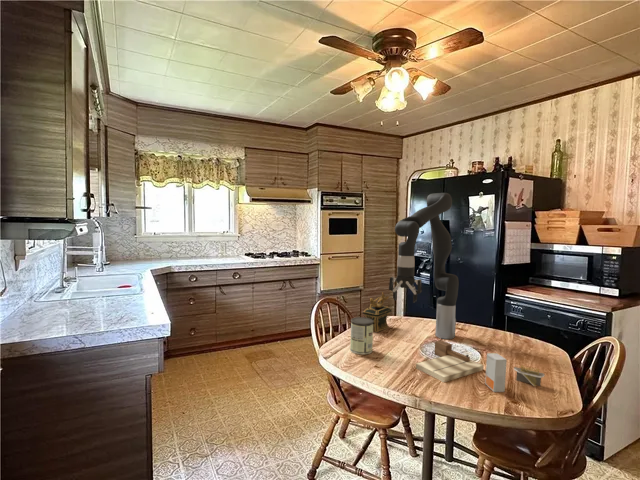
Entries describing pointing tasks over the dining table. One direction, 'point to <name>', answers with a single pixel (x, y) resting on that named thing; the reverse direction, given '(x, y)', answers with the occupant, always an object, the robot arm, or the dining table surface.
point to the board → (448, 367)
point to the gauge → (448, 351)
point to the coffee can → (361, 335)
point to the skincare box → (495, 372)
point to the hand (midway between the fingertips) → (404, 301)
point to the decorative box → (378, 313)
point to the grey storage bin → (529, 376)
